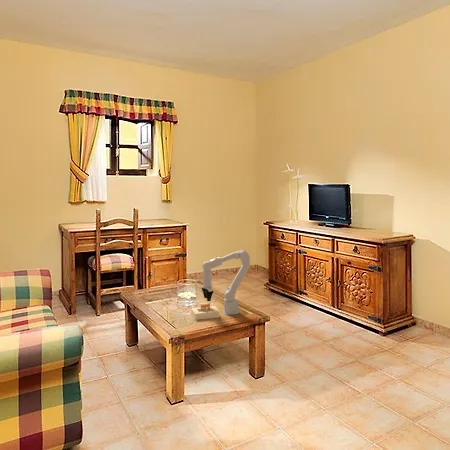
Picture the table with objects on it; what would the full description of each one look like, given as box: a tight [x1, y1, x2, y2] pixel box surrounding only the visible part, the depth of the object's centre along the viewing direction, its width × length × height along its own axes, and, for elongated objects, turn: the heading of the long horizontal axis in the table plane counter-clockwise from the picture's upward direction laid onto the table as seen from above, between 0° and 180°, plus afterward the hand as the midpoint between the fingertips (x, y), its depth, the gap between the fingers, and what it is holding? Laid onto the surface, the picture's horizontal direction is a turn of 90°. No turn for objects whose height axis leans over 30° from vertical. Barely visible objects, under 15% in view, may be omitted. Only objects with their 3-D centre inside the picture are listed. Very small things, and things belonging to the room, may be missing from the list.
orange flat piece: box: [200, 303, 211, 312], centre depth 261 cm, size 6×1×6 cm, turn 106°
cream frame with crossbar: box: [191, 305, 221, 321], centre depth 261 cm, size 16×12×6 cm
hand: (207, 299), depth 265 cm, fingers open, 7 cm apart
